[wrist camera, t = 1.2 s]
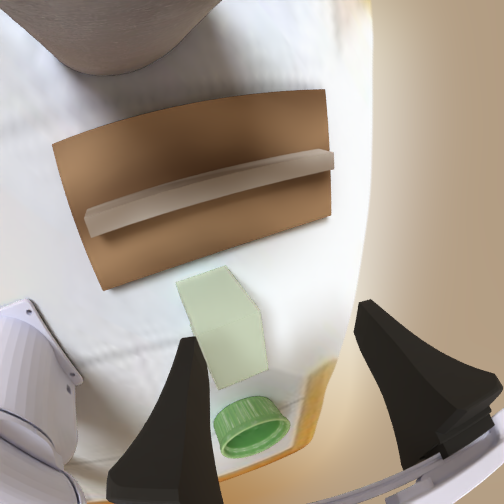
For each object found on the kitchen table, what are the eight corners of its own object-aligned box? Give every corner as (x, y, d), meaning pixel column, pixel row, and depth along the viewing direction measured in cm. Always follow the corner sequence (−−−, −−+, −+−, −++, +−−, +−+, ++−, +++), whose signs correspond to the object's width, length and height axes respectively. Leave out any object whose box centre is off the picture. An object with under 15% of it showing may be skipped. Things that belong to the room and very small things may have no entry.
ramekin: (271, 381, 32) (289, 408, 29) (276, 414, 37) (291, 437, 33) (200, 411, 29) (213, 442, 26) (218, 440, 34) (230, 465, 30)
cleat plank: (322, 210, 24) (344, 222, 22) (103, 282, 19) (103, 305, 16) (315, 89, 19) (340, 89, 17) (56, 142, 14) (44, 147, 11)
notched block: (237, 322, 25) (268, 369, 21) (194, 338, 24) (218, 390, 19) (225, 265, 22) (260, 310, 18) (175, 282, 21) (197, 334, 16)
